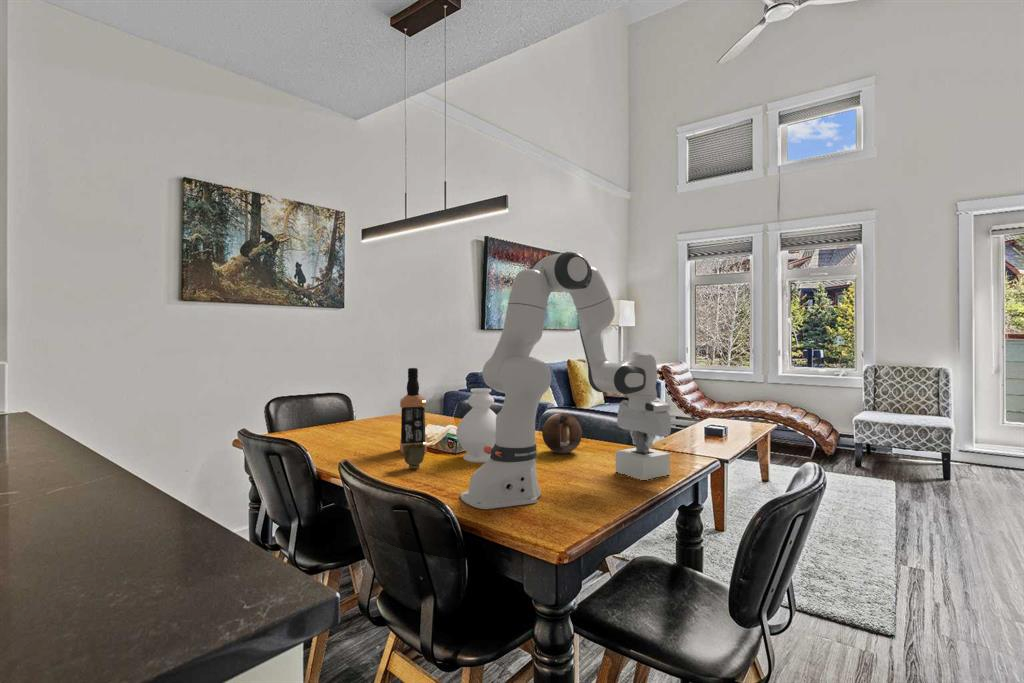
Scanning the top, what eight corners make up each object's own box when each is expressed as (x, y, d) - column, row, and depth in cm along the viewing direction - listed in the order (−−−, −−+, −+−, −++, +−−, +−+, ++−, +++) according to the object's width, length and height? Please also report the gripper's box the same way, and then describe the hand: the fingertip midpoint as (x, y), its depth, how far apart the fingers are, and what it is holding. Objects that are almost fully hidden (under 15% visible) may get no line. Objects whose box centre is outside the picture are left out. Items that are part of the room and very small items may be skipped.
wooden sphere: (547, 447, 205) (547, 409, 205) (585, 450, 200) (585, 411, 200) (537, 455, 191) (537, 415, 190) (577, 459, 186) (577, 417, 186)
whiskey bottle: (426, 454, 194) (426, 368, 193) (399, 455, 191) (399, 369, 191) (425, 448, 204) (425, 367, 203) (399, 449, 202) (399, 367, 201)
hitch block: (643, 481, 158) (643, 458, 158) (615, 472, 168) (615, 450, 168) (669, 475, 164) (670, 453, 164) (641, 467, 175) (641, 446, 174)
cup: (427, 470, 170) (427, 446, 170) (404, 472, 168) (404, 448, 167) (422, 465, 177) (422, 441, 177) (401, 467, 175) (400, 443, 174)
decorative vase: (475, 467, 175) (475, 393, 174) (446, 457, 188) (446, 389, 188) (515, 459, 186) (515, 389, 185) (486, 450, 200) (486, 385, 199)
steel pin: (642, 470, 163) (642, 432, 163) (633, 467, 167) (633, 430, 167) (651, 468, 166) (651, 431, 165) (642, 465, 169) (642, 429, 169)
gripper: (612, 400, 173) (612, 441, 173) (660, 407, 156) (659, 453, 156) (626, 398, 176) (626, 439, 177) (674, 406, 159) (673, 450, 159)
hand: (642, 445), depth 166 cm, fingers closed on steel pin, 4 cm apart
